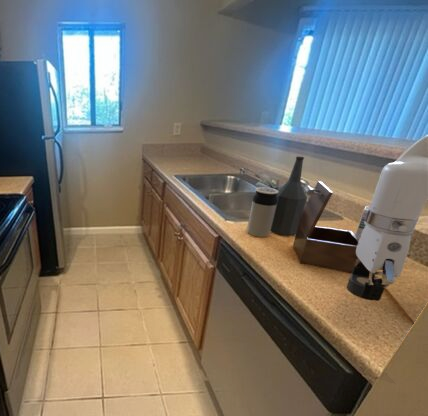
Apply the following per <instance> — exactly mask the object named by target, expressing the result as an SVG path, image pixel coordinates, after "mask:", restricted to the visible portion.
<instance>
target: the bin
mask: <svg viewBox="0 0 428 416" xmlns="http://www.w3.org/2000/svg"><path fill="white" fill-rule="evenodd" d="M358 241H359V239H358V238H357V237H356V235H355V233H354V232H353V231H352V230H347V229H339V228H332V227H325V226H317V225H316V226H315V228H314V229H313V231H312V233H311V235H310V237H309V238H306V237H305V235H304V233H303V231H302V229H301V227H300V226H299V225H298V228H297V232H296V234H295V235H294V239H293V244H292V247H293V250H294V253H295V255H296V257H297V260H298V263H299V264H300V265H305V266H306V265H307V266H311V267H316V268H322V269H328V270H333V271H337V272H345V273H350V274H352V272H353V269H354V266H355V261H356V260H357V256H356V248H357V244H358ZM355 267H357V266H355Z"/></svg>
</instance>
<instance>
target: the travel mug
mask: <svg viewBox="0 0 428 416" xmlns="http://www.w3.org/2000/svg"><path fill="white" fill-rule="evenodd" d="M278 190H279V189H275V188H273V187H272V188H271V187H266V186H265V187H264V186H261V187H260V186H259V187H256V188H255V194H254V195H253V197H252V201H251V207H250V212H249V217H248V221H247V227H246V233H248V234H249V235H250V236H253V237H257V238H267V237H269V236H270V234H271V231H270V230H271V226H272V222H273V217H274V213H275V209H276V205H277V197H276V196H277V193H278Z"/></svg>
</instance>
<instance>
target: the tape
mask: <svg viewBox="0 0 428 416" xmlns="http://www.w3.org/2000/svg"><path fill="white" fill-rule="evenodd" d="M368 280H369V277H368V276H365V275H359V274H354V275H350V276H349V278H348V280H347V284H346V290H347V291H348V292H349V293H350V294H352V295H354V296H355V297H357V298H360V299H362V300H367V301H371V300H370V299H364V298H362V297H361V293H362V290H363V288H364V285H365V282H368Z"/></svg>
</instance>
